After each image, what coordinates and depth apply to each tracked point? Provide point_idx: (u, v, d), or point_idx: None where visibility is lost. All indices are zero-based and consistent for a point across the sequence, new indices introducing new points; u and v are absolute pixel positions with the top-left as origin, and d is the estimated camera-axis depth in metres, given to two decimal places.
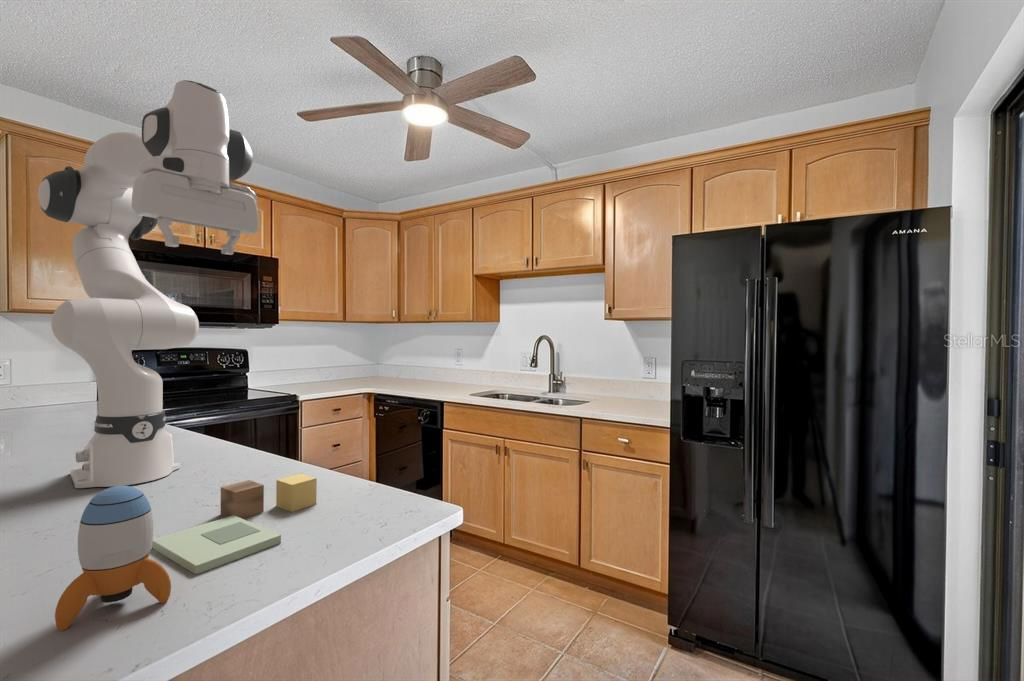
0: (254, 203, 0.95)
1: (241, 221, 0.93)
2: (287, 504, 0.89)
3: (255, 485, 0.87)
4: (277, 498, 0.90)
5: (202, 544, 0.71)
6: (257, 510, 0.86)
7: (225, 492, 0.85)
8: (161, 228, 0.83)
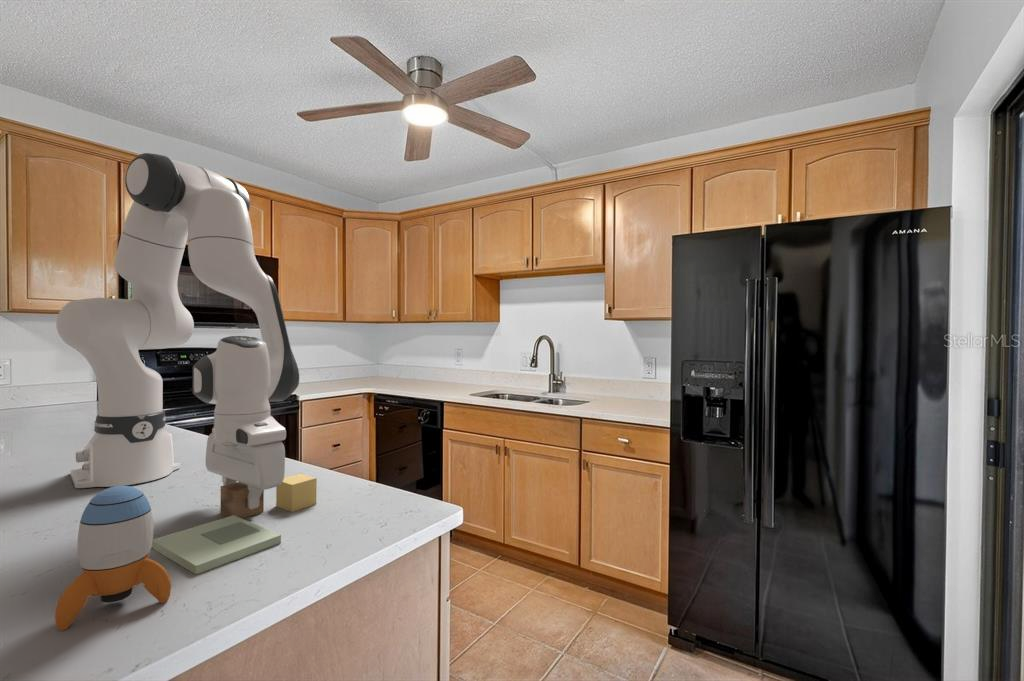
0: None
1: None
2: (287, 504, 0.89)
3: None
4: (277, 498, 0.90)
5: (202, 544, 0.71)
6: (257, 509, 0.86)
7: (225, 491, 0.85)
8: (254, 493, 0.84)
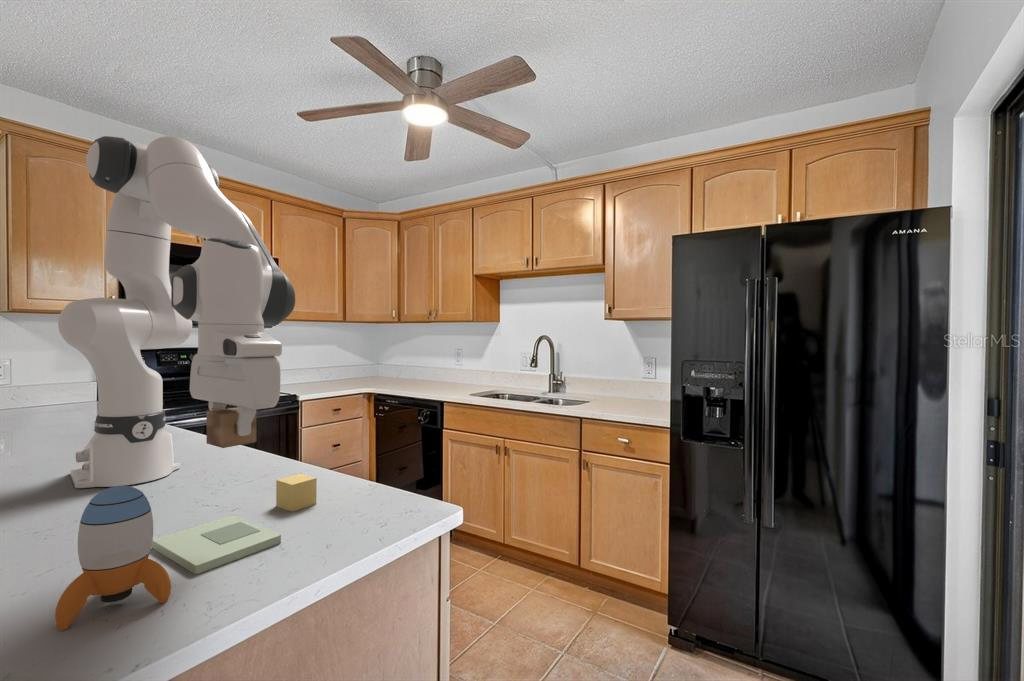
0: None
1: None
2: (287, 504, 0.89)
3: None
4: (277, 498, 0.90)
5: (202, 544, 0.71)
6: (249, 438, 0.75)
7: (211, 416, 0.73)
8: (245, 417, 0.72)
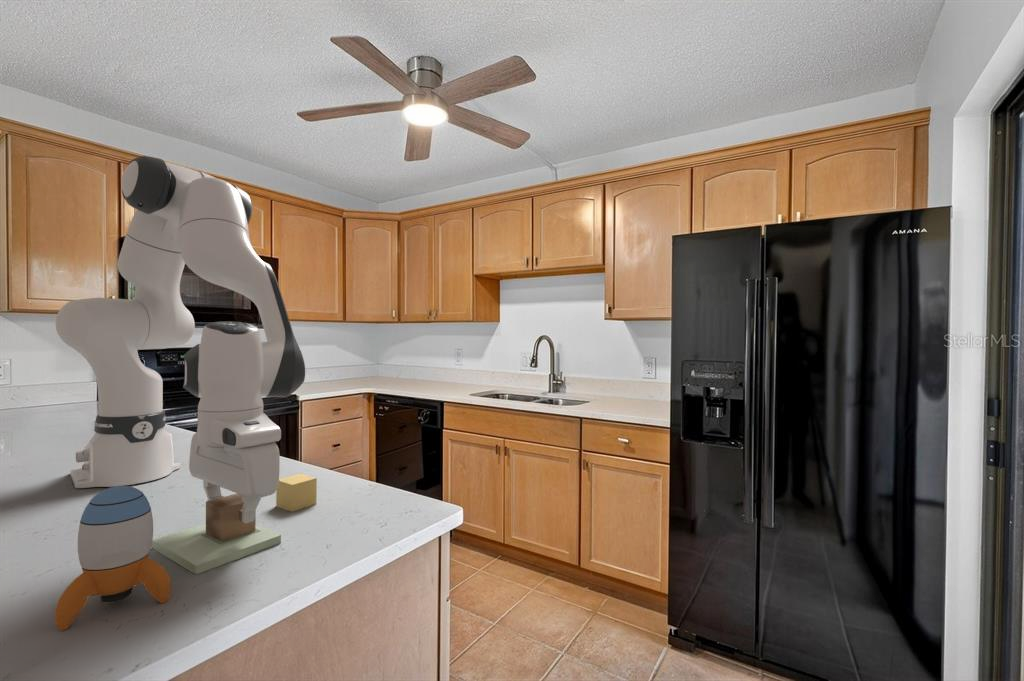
0: None
1: None
2: (287, 504, 0.89)
3: None
4: (277, 498, 0.90)
5: (202, 544, 0.71)
6: (248, 528, 0.75)
7: (210, 508, 0.74)
8: (250, 505, 0.72)
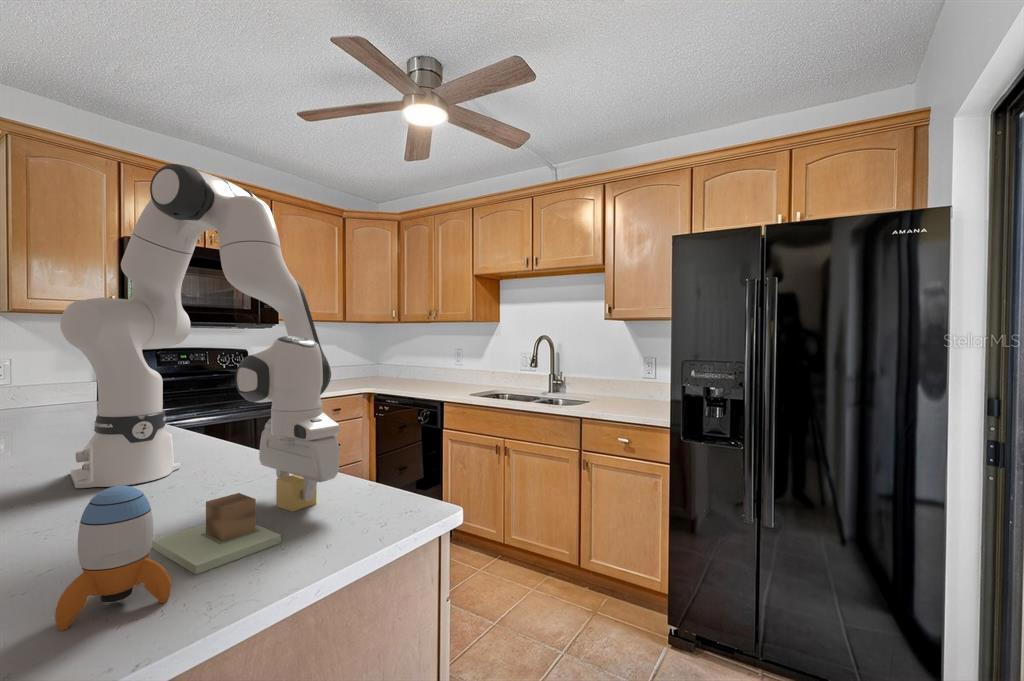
0: None
1: None
2: (287, 503, 0.89)
3: (246, 499, 0.76)
4: (277, 497, 0.90)
5: (202, 544, 0.71)
6: (248, 528, 0.75)
7: (210, 508, 0.74)
8: (310, 485, 0.88)
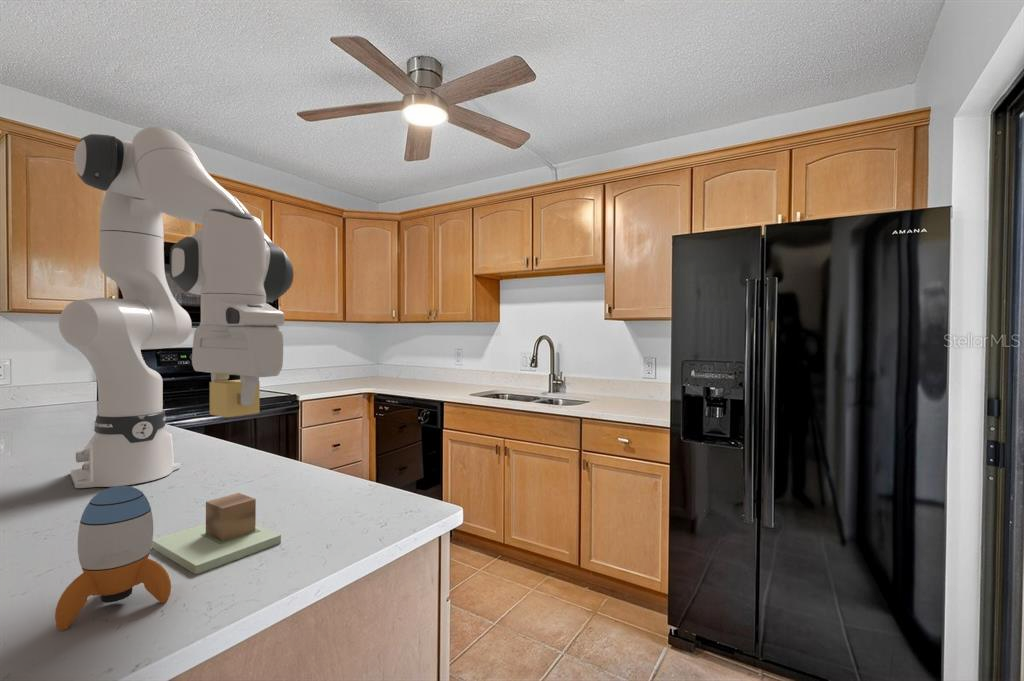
0: None
1: None
2: (221, 409, 0.73)
3: (246, 499, 0.76)
4: (210, 404, 0.74)
5: (202, 544, 0.71)
6: (248, 528, 0.75)
7: (210, 508, 0.74)
8: (248, 386, 0.72)
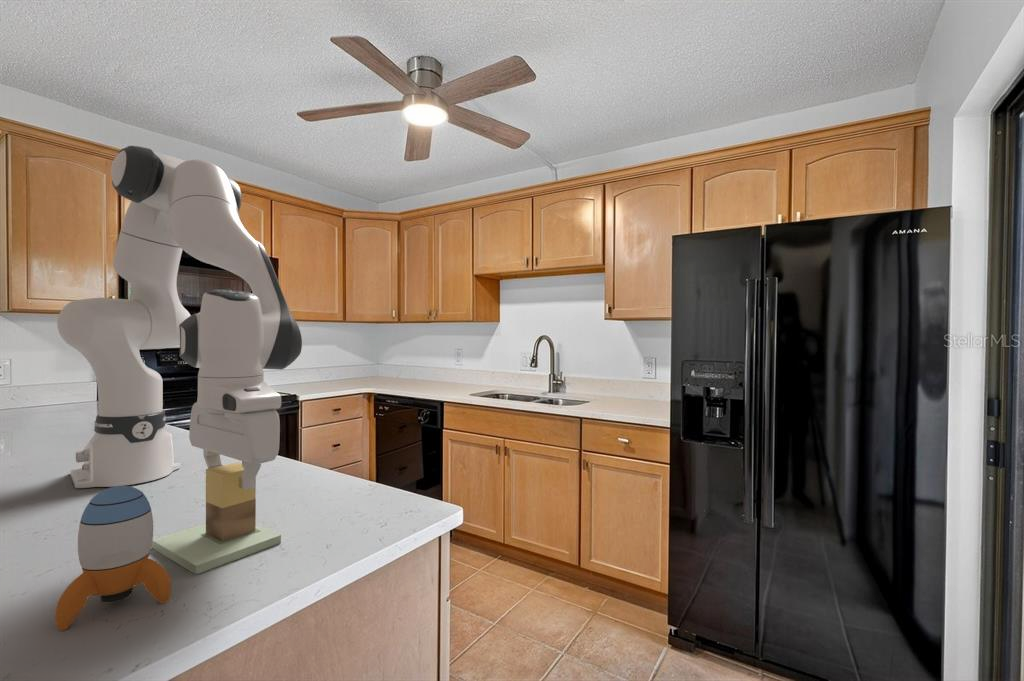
0: None
1: None
2: (217, 498, 0.73)
3: None
4: (206, 491, 0.74)
5: (202, 544, 0.71)
6: (248, 528, 0.75)
7: (210, 508, 0.74)
8: (250, 471, 0.72)
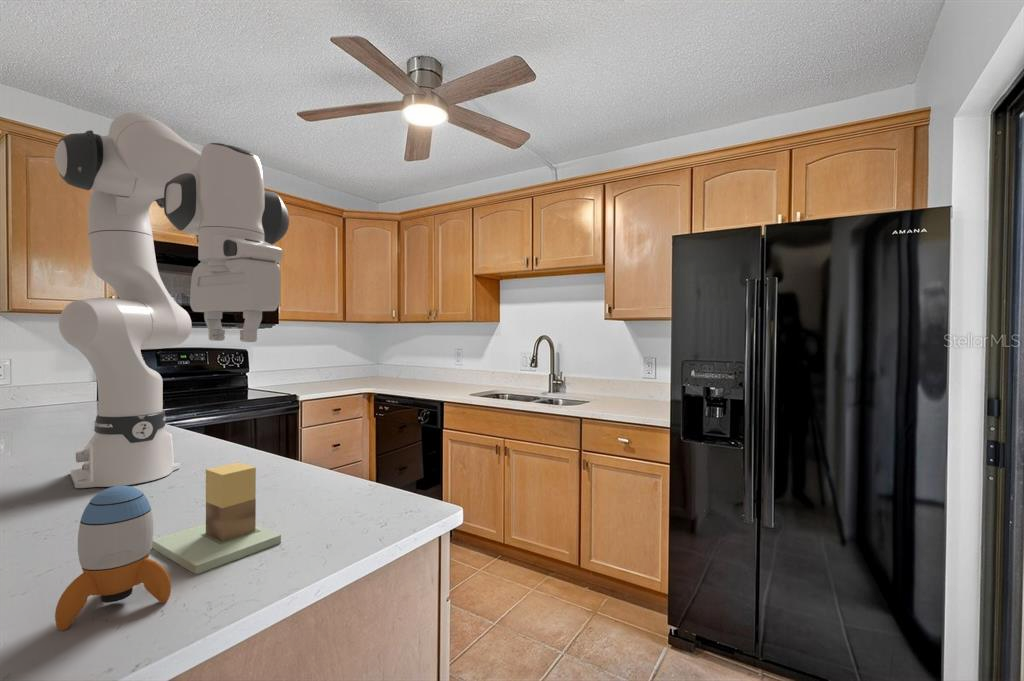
0: None
1: None
2: (217, 498, 0.73)
3: None
4: (206, 491, 0.74)
5: (202, 544, 0.71)
6: (248, 528, 0.75)
7: (210, 508, 0.74)
8: (251, 322, 0.71)
